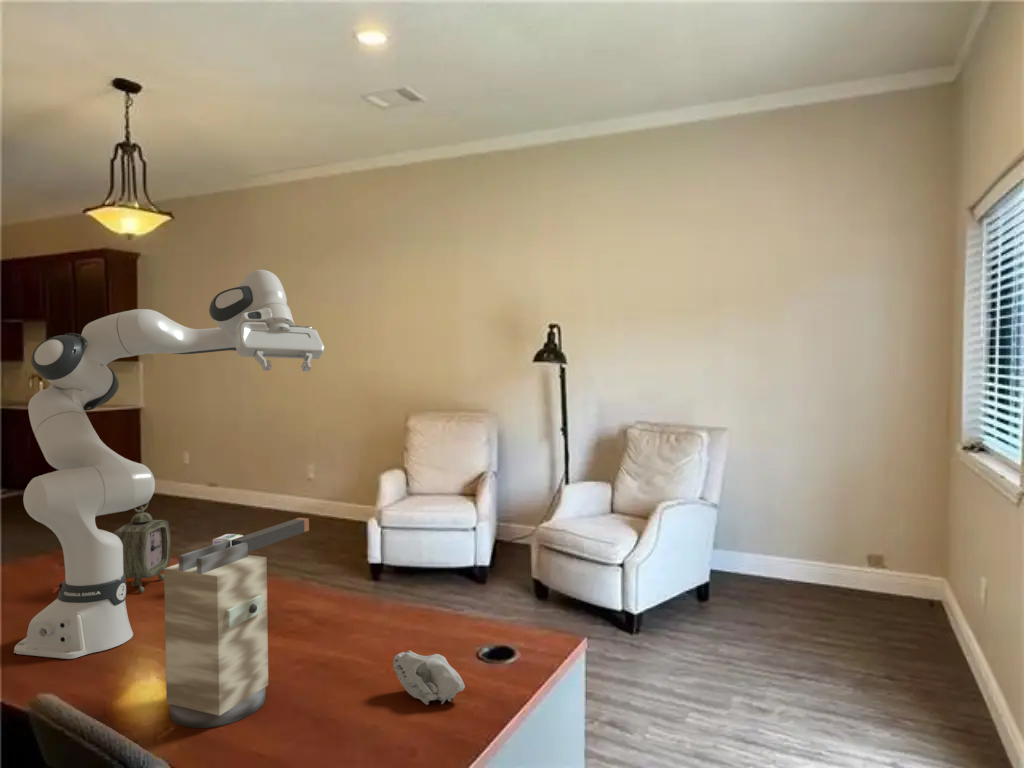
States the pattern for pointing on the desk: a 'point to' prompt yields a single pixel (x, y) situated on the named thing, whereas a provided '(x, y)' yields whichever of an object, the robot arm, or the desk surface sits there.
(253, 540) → the bar
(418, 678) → the skull
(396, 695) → the desk surface
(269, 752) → the desk surface
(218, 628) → the level stand
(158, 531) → the tabletop clock
